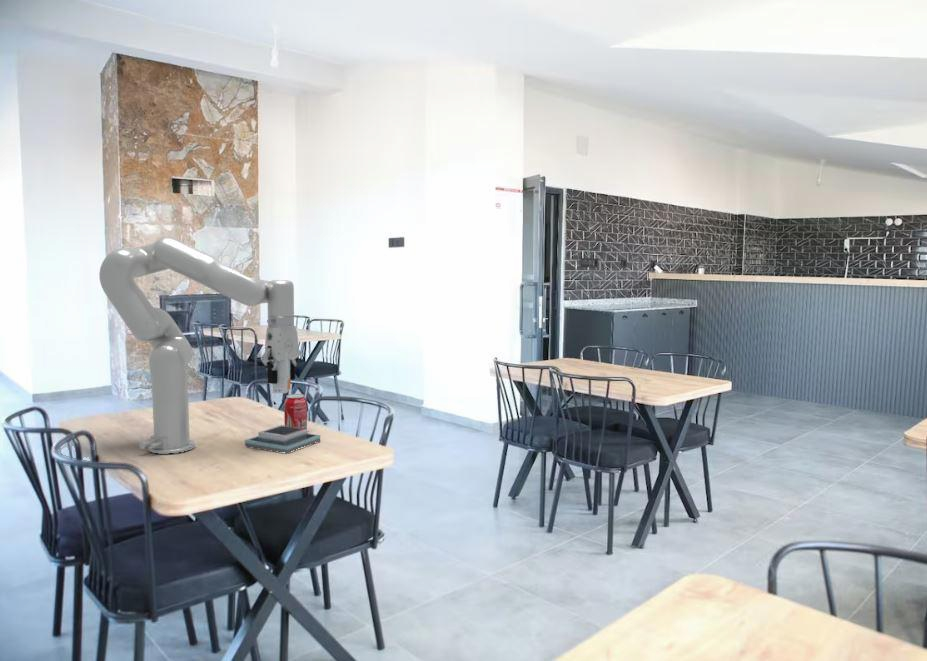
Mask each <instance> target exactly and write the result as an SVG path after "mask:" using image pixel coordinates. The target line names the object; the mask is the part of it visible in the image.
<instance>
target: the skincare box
mask: <svg viewBox="0 0 927 661" xmlns="http://www.w3.org/2000/svg"><path fill="white" fill-rule="evenodd" d="M273 359H274V358H273ZM273 363H274V362H272V364H273ZM276 370H277V384H272V393H273V394H287V393H288V392H289V391H291V379H290V360H288V356H287V353H285V360H284V361H278V364H277V367H276Z"/></svg>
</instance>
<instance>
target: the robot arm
mask: <svg viewBox="0 0 927 661" xmlns="http://www.w3.org/2000/svg"><path fill="white" fill-rule="evenodd" d="M99 268H100V269H99V273H98V274H99V283H100V286H101V289H102V290H103V292H104V294H105V296H106V297H107V298H108V300H109V302H110V303H111V305H113V307H114V309H115V310H116V312H117V314H118V315H119V316H120V318H121V319H122V321H123V322H124V323H125V325H126V327H127V328H128V330H129V331H130V333H131V334H132V335H133V336H134V337H135V339H136V340H138V341H140V342H143V343H149V344H150V346H151V347H152V350H151V352H150V355H149V359H148V365H149V366H148V367H149V374H150V379H151V381H150V382H151V394H152V415H153V416H152V418H153V420H152V422H153V435H150V439H148V441H146V440H145V441H142V442H139V449H140V450H145V449H148V452H149V451H150V453H151V452H152V454H155V453H158V454H157V455H170V454H169V453H174V454H180V453H179V452H181V453H184V451H185V452H188V450H189V451H191V450H193V449H195V448H196V441H195V440H191V439H190V412H189V411H190V410H189V409H190V407H189V388H188V387H189V386H188V377H187V375H188V374H187V366H188V365H189V364H190V362H191V361H192V358H193V354H194V353H193V348H192V346H191V344H190V342H189V340H188V339H187V338H186V336H185V334H184V333H183V331H182V330H181V329H180V327H179V326H178V325H177V323H176V321H175V320H174V319H173V317H172V316H171V314H169V312H168V311H166V310H164V309H163V308H160V307H154V306H153V305H152V303H151V302H150V301H149V299H148V297H147V296H146V294H145V293H144V291H143V290H141V288H140V286H138V285H137V283H136V281H135V278H141V277H144V276H149V275H152V274H156V273H160V272H163V271H167V270H171V271H173V272H175V273H178V274H180V275H181V276H184V277H186V278H188V279H190V280H192V281H195V282H197V283H199V284H200V285H203V286H205V287H206V288H207V289H210V290H213V291H215V292H217V293H219V294H220V295H223V296H225V297H227V298H228V299H231V300H234V301H235V302H237V303H240V304H242V305H245V306H248V307H255V306H257V305H261V304H267V320H266V322H267V328H266V333H265V340H264V342H265V343H264V353H263V354H262V355H261V357H260V361H261V362H262V364H263V366H264V368H265V369H266V370H265V371H267V383H268V384H272V385H273V384H277V370H276V367H277V364H278V361H284V360H285V353H287V356H288V360H290V381H291V380H293V381H294V380H295V379H296V367H297V363H298V361H299V358H300V355H301V353H302V351H301V350H300V348H299V337H298V331H297V327H296V326H295V298H294V297H295V295H294V294H295V293H294V292H295V288H294V287H295V286H294V283H293V281H291V280H289V279H288V280H287V279H282V280H281V279H275V280H274V279H273V280H265V279H264V280H263V279H257V278H250V277H248V276H245V275H244V274H242V273H240V272H237V271H235V270H233V269H231V268H230V267H228V266H227V265H225V264H224V263H223V262H222V261H220V260H219V259H218V258H216V257H214V256H213V255H210V254H208V253H206V252H204V251H202V250H199V249H197V248H195V247H193V246H191V245H189V244H186V242H184V241H183V240H182V239H180V238H177V237H172V236H163V237H159V238H158V239H156V240H155V242H154V243H150V244H146V245H141V246H138V247H134V248H131V247H119V248H116V249H114V250H112V251H111V252H109V253H108V254H107V255H106V256H105V258H104V259H103V261H102V263H101V266H100V267H99ZM273 358H274V359H273ZM273 362H274V363H273Z"/></svg>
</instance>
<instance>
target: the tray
mask: <svg viewBox="0 0 927 661" xmlns="http://www.w3.org/2000/svg"><path fill="white" fill-rule="evenodd" d="M257 434H258V435H256V436H253V437H250V438H247V439H245V440H244V447H245V446H247V447H246V448H249V447H253V448H252V449H255V448H260V449H259V450H261V449H266V450H265V451H267V450H272V451H271V452H273V451H278V452H285V453H288V452H291V451H293V450H296V449H298V448H301V447H304V446H307V445H310V444H313V443H315V442H318V443H320V442H321V435H320V434H313V433H308V428H307V429H304V428H298V427H291V426H285V424H280V425H277V426H274V427H271V428H268V429H264V430H261V431H258V432H257ZM319 441H320V442H319ZM315 444H316V443H315ZM313 445H314V444H313ZM310 446H311V445H310ZM307 447H308V446H307ZM278 452H277V453H278ZM291 453H292V452H291ZM288 454H289V453H288Z"/></svg>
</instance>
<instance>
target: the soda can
mask: <svg viewBox="0 0 927 661" xmlns="http://www.w3.org/2000/svg"><path fill="white" fill-rule="evenodd" d="M307 402H308V401H307V399H306V397H305V394H302V393H294V394H293V393H292V394H287V395H286V398H285V400H284V404H283V405H284V406H283V407H284V409H283V410H284V414H283V415H284V426H291V427H298V428H304V429H307V430H308V403H307Z"/></svg>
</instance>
